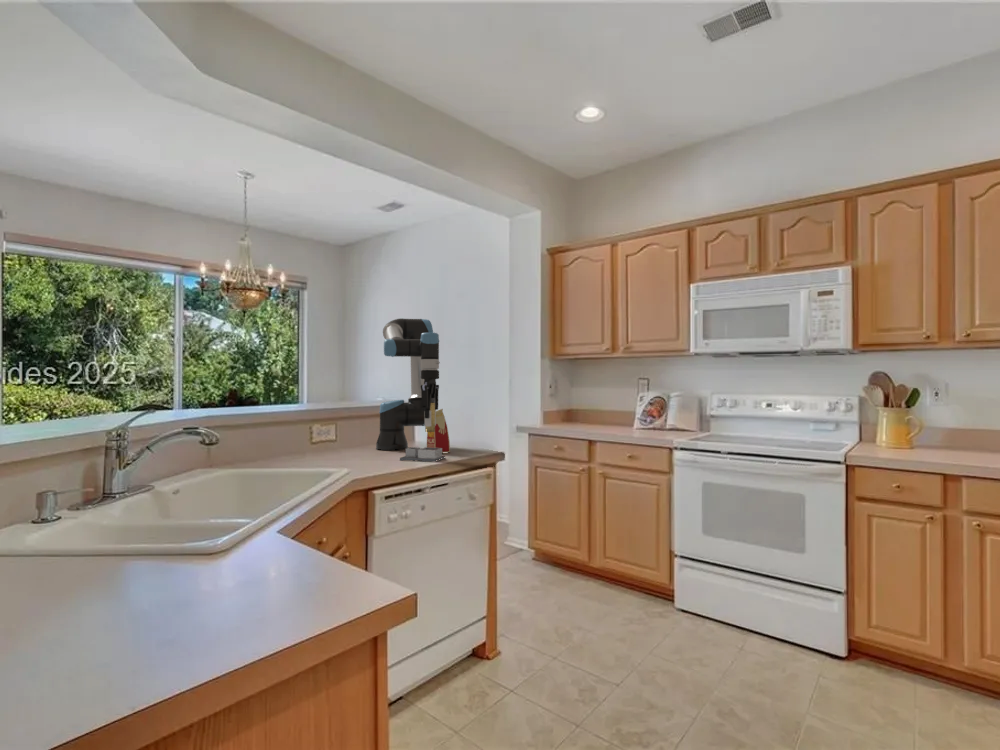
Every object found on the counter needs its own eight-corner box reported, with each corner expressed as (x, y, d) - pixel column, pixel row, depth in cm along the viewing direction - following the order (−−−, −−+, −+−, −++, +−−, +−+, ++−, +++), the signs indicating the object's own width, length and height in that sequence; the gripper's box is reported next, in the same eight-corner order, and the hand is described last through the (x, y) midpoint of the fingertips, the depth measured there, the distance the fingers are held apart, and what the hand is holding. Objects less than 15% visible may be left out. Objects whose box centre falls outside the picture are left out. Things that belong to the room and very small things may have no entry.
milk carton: (442, 450, 242) (442, 408, 242) (450, 453, 234) (450, 408, 234) (424, 452, 237) (424, 408, 237) (432, 454, 229) (432, 409, 229)
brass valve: (427, 431, 217) (427, 397, 217) (436, 431, 216) (436, 397, 216) (423, 431, 213) (423, 398, 214) (432, 432, 212) (432, 398, 212)
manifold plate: (410, 456, 223) (410, 446, 223) (445, 458, 218) (445, 447, 218) (399, 460, 213) (399, 449, 213) (435, 461, 209) (435, 450, 209)
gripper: (429, 369, 206) (430, 427, 206) (446, 370, 222) (446, 424, 222) (412, 369, 208) (412, 427, 208) (430, 370, 224) (430, 424, 224)
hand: (430, 425), depth 215 cm, fingers closed on brass valve, 4 cm apart
